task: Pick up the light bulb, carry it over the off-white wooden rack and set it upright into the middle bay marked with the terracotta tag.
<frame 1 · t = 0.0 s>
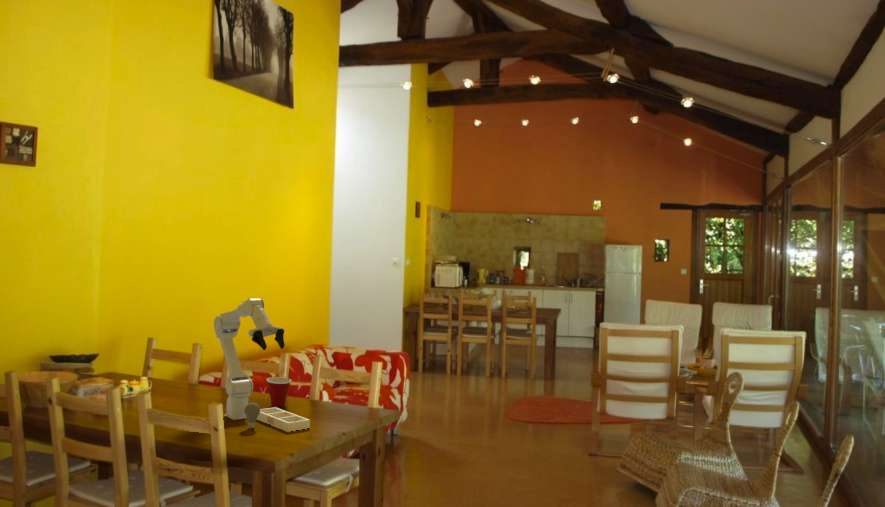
hand: (274, 347, 282), 32 cm above the table, tool tilted 50°, fingers open, 7 cm apart
light bulb: (251, 428, 286), on the table
rack: (281, 423, 295), on the table
plastic cup: (278, 406, 327), on the table
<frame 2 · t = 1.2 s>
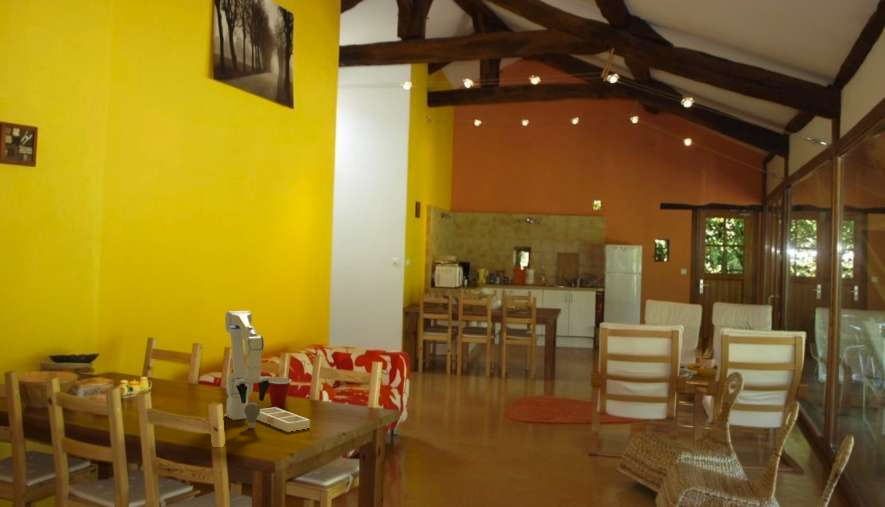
hand: (252, 401, 286), 10 cm above the table, tool pointing down, fingers open, 7 cm apart
nothing on the table moved.
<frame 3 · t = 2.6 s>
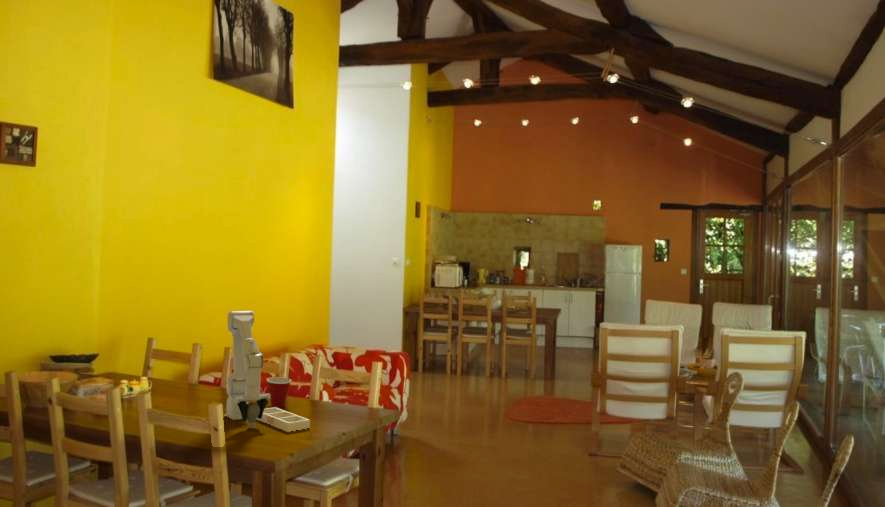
hand: (252, 419, 286), 3 cm above the table, tool pointing down, fingers closed on light bulb, 6 cm apart
light bulb: (251, 428, 286), on the table, touching gripper
everything else where it was.
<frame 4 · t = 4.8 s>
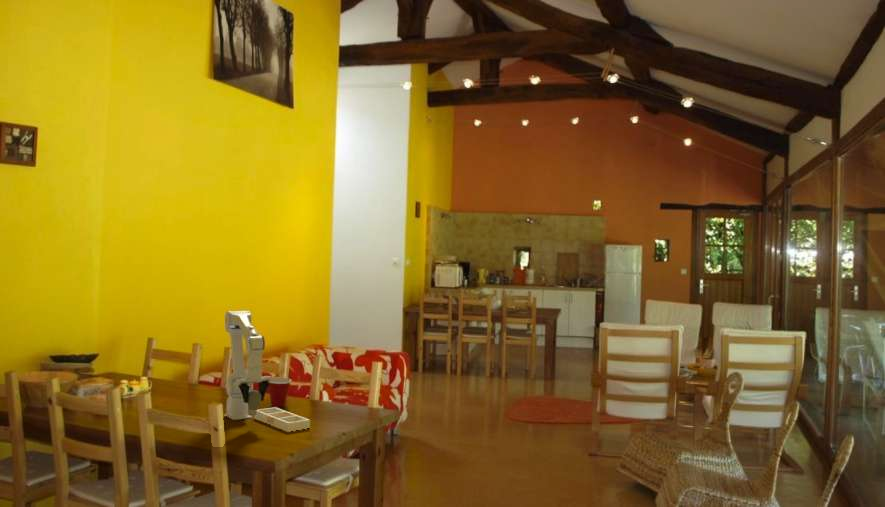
hand: (253, 401, 287), 10 cm above the table, tool pointing down, fingers closed on light bulb, 6 cm apart
light bulb: (253, 416, 286), point 5 cm above the table, touching gripper
everything else where it was.
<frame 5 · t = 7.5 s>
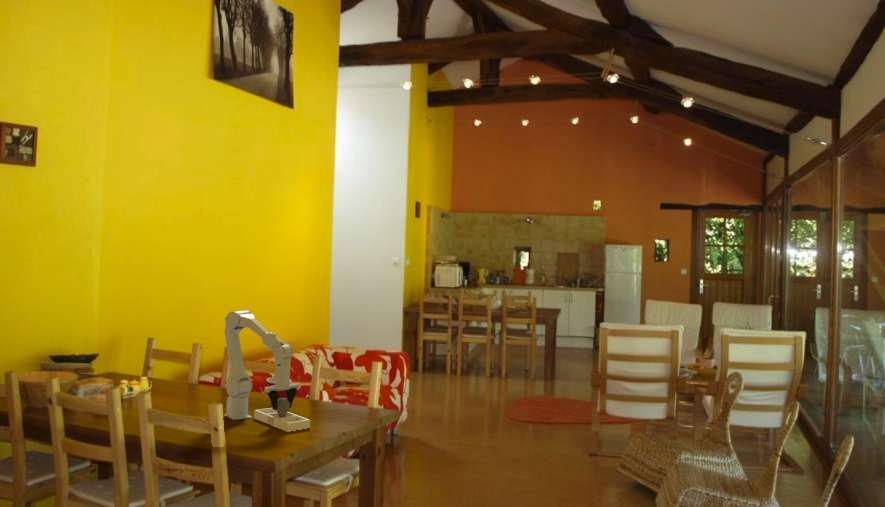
hand: (281, 408, 295), 6 cm above the table, tool pointing down, fingers closed on light bulb, 6 cm apart
light bulb: (282, 423, 295), resting on rack, touching gripper
everything else where it was.
when the fingers open (5 cm above the table, at t = 8.8 s): light bulb stays where it is, resting on rack.
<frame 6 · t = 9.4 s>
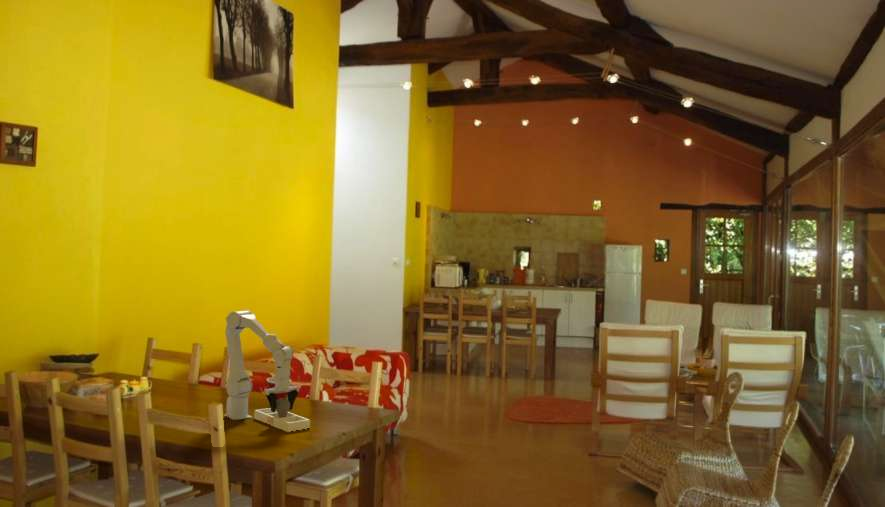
hand: (281, 410, 295), 5 cm above the table, tool pointing down, fingers open, 7 cm apart
light bulb: (282, 423, 295), resting on rack
everything else where it was.
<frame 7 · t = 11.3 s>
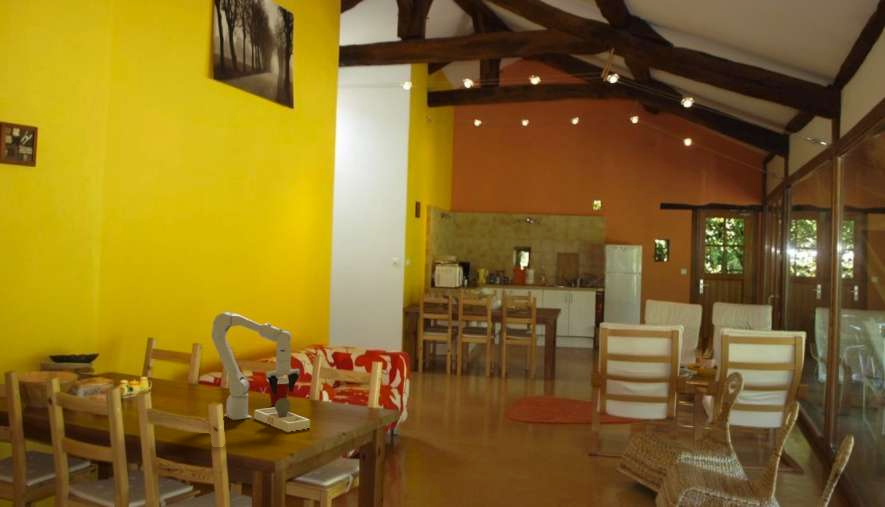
hand: (282, 392, 304), 11 cm above the table, tool pointing down, fingers open, 7 cm apart
nothing on the table moved.
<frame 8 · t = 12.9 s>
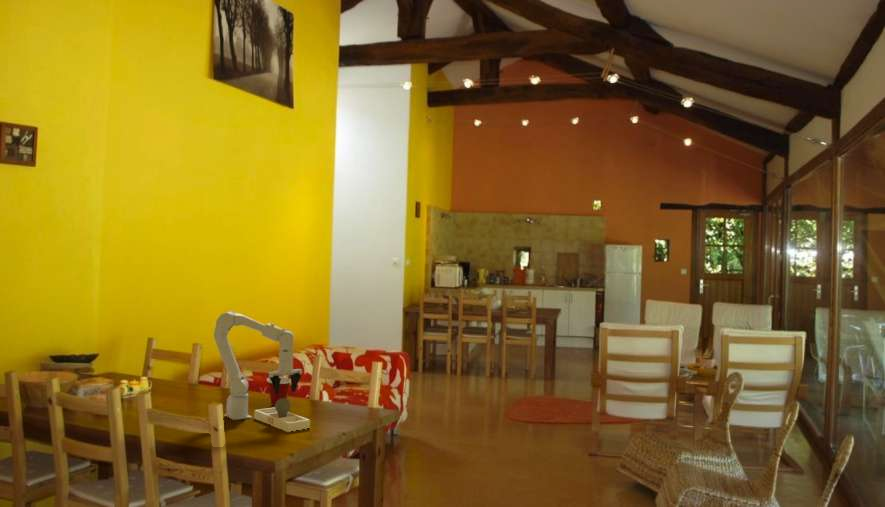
hand: (285, 392, 305), 10 cm above the table, tool pointing down, fingers open, 7 cm apart
nothing on the table moved.
at the end: light bulb 0.6 cm off-centre on the rack, point 0.1 cm above the rack's base; light bulb tilted 0°; the gripper is holding nothing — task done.
